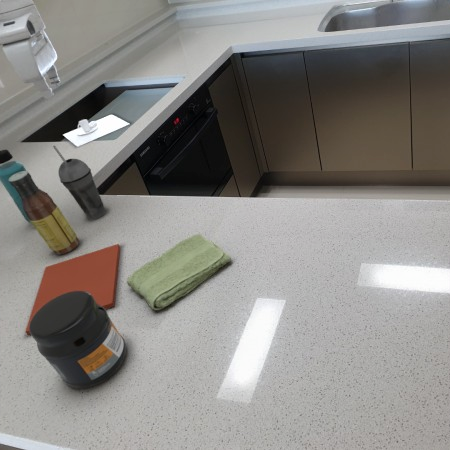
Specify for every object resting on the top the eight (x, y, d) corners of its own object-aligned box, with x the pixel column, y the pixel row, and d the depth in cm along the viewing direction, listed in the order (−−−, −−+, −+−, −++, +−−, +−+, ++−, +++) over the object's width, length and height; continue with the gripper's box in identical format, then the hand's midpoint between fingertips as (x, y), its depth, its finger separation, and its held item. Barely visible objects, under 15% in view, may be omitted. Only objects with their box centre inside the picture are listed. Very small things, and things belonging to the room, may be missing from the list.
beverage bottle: (32, 231, 116) (-14, 162, 105) (27, 222, 121) (-18, 155, 110) (57, 218, 119) (15, 150, 108) (51, 210, 124) (10, 143, 112)
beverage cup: (117, 208, 117) (80, 137, 106) (94, 224, 113) (53, 152, 101) (99, 204, 121) (62, 135, 110) (76, 220, 116) (35, 149, 105)
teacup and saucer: (96, 124, 176) (91, 114, 174) (103, 128, 171) (98, 118, 168) (74, 133, 173) (69, 123, 170) (80, 137, 167) (75, 127, 165)
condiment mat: (28, 335, 84) (25, 331, 84) (47, 270, 100) (45, 266, 100) (114, 306, 86) (112, 302, 85) (120, 247, 102) (118, 243, 102)
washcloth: (236, 261, 90) (231, 249, 88) (158, 317, 81) (151, 304, 79) (200, 239, 98) (195, 227, 96) (126, 287, 90) (119, 275, 88)
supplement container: (140, 355, 75) (108, 303, 68) (82, 403, 69) (40, 352, 62) (110, 328, 81) (78, 279, 74) (54, 370, 76) (14, 321, 69)
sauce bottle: (70, 237, 110) (25, 164, 99) (85, 242, 107) (41, 167, 96) (46, 254, 106) (-3, 180, 95) (62, 259, 103) (13, 184, 91)
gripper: (15, 21, 101) (47, 82, 109) (-11, 38, 84) (29, 109, 92) (44, 13, 101) (74, 75, 109) (24, 29, 85) (60, 100, 93)
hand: (53, 91), depth 100 cm, fingers open, 8 cm apart
